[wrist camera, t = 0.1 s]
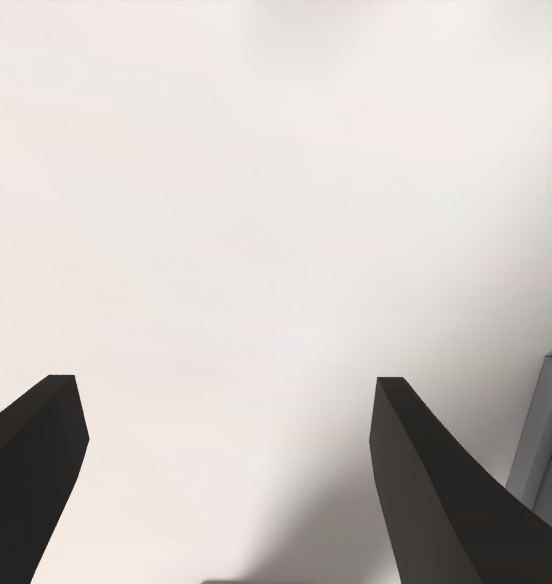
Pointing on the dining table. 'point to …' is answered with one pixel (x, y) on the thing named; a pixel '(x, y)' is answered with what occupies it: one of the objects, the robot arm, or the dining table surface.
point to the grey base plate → (536, 452)
